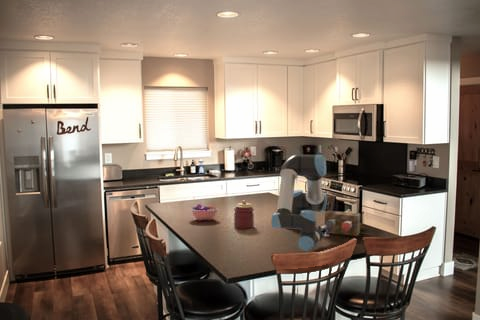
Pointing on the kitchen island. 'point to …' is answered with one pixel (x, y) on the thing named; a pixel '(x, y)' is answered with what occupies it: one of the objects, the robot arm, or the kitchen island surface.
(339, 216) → the walnut plug block
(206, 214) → the cell model
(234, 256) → the kitchen island surface
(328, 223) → the graphite plug
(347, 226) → the red plug
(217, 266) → the kitchen island surface
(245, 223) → the canister
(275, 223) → the robot arm
